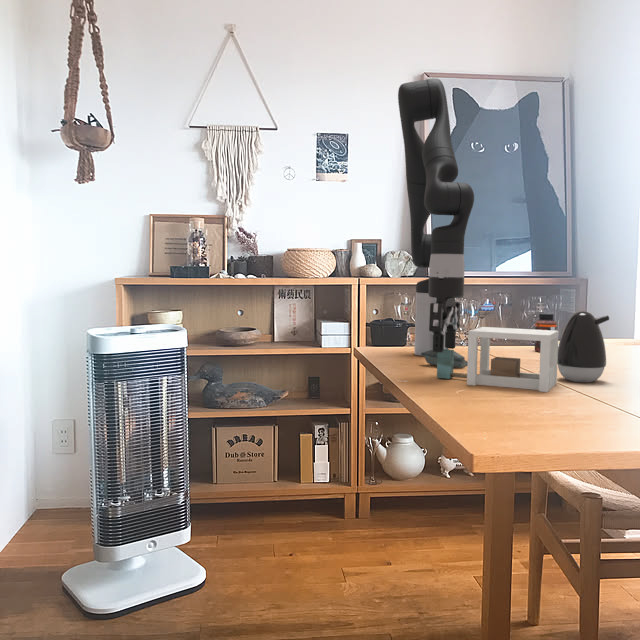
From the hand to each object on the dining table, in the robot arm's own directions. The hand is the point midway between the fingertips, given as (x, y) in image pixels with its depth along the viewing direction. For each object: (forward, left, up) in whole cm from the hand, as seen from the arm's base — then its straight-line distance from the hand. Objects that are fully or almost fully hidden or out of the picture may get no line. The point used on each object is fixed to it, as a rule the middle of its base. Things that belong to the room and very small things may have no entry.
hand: (444, 350), depth 152 cm
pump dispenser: (-13, +27, -6) cm, 31 cm away
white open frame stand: (0, +15, -6) cm, 16 cm away
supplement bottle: (-65, +11, -6) cm, 67 cm away
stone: (-20, -5, -7) cm, 22 cm away
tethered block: (0, +7, -6) cm, 9 cm away
